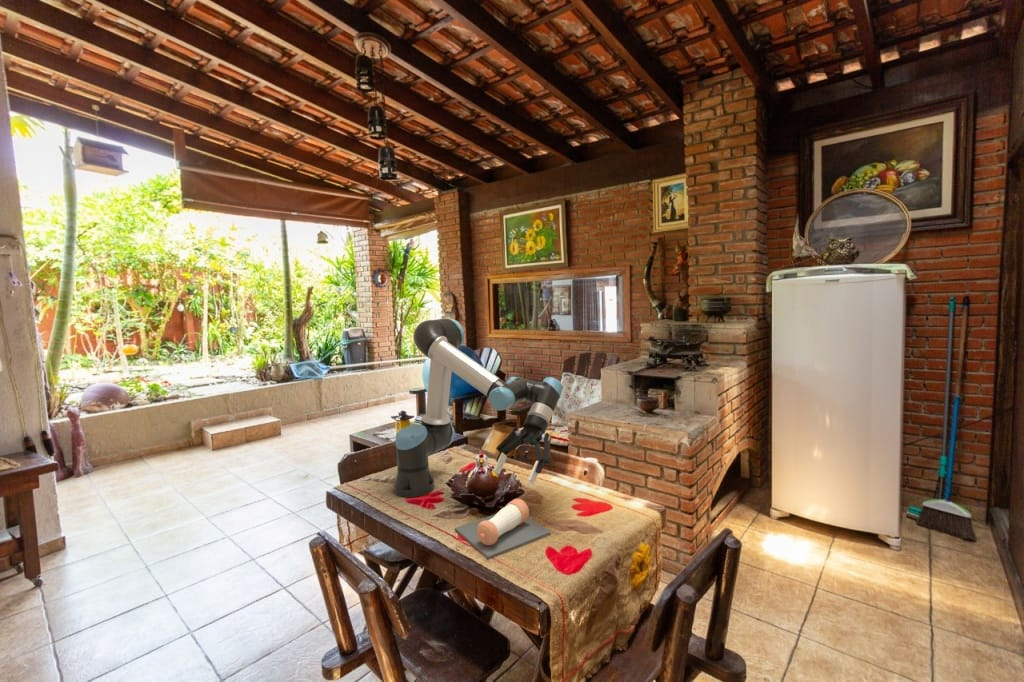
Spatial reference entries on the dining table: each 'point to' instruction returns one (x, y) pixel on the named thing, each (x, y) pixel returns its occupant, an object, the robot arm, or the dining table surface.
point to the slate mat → (503, 537)
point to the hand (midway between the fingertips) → (513, 477)
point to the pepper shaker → (503, 521)
